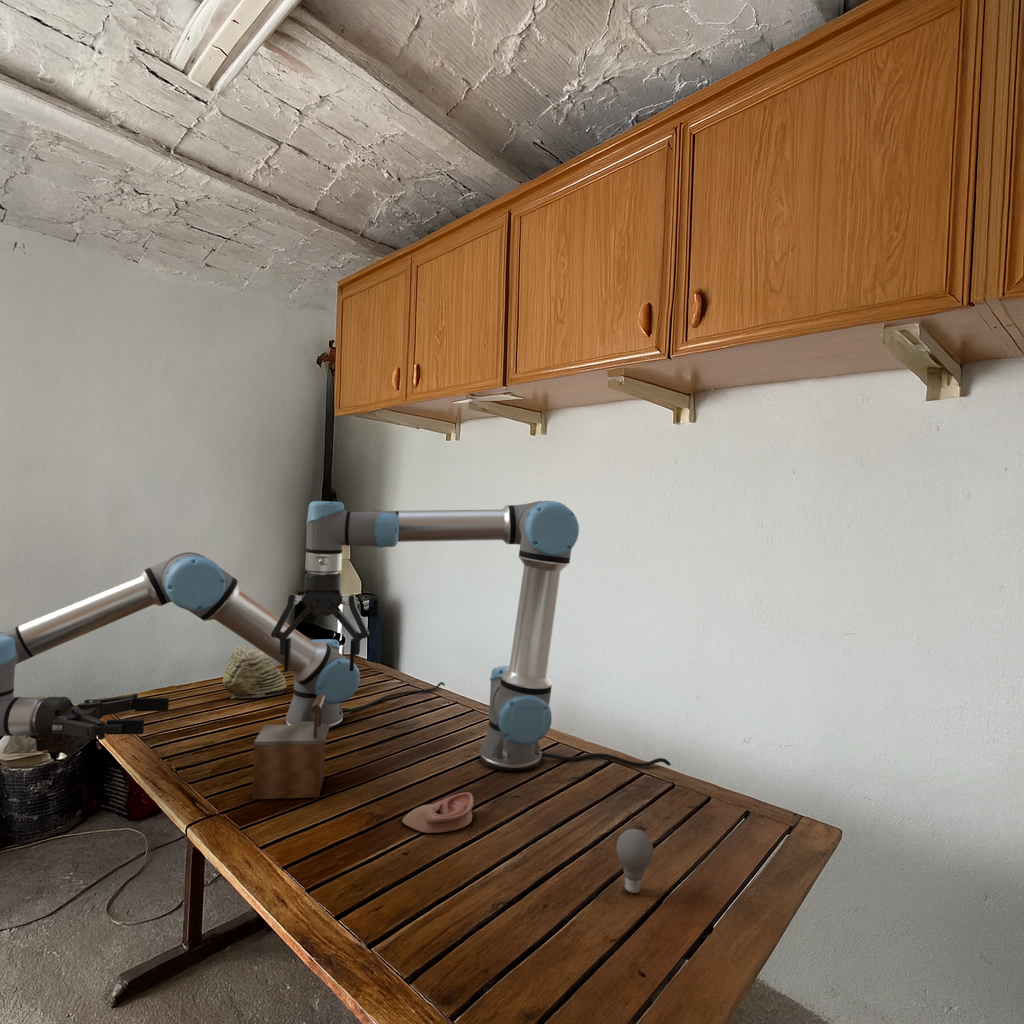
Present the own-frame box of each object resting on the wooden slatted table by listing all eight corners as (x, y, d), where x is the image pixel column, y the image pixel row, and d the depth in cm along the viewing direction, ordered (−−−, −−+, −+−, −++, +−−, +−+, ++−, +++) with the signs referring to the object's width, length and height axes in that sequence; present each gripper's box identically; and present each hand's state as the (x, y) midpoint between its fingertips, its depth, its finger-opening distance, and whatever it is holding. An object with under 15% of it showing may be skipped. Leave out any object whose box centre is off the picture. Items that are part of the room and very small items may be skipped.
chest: (324, 777, 143) (326, 727, 143) (318, 797, 134) (320, 744, 133) (262, 779, 141) (264, 728, 141) (251, 799, 131) (254, 746, 131)
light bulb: (610, 879, 108) (613, 822, 108) (644, 879, 109) (647, 822, 109) (619, 902, 102) (622, 840, 102) (655, 901, 103) (658, 840, 103)
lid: (329, 727, 143) (331, 692, 143) (324, 744, 133) (326, 706, 133) (264, 728, 141) (265, 692, 140) (254, 745, 131) (255, 707, 131)
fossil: (218, 695, 195) (220, 647, 195) (278, 685, 208) (279, 640, 207) (228, 703, 189) (230, 653, 188) (289, 692, 201) (290, 645, 201)
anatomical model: (396, 808, 122) (417, 782, 133) (395, 828, 122) (416, 801, 133) (463, 818, 119) (478, 791, 130) (462, 839, 119) (477, 810, 131)
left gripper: (73, 713, 141) (176, 712, 144) (4, 759, 116) (130, 756, 120) (74, 680, 141) (177, 680, 144) (6, 718, 116) (132, 717, 120)
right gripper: (258, 573, 131) (255, 674, 132) (381, 575, 136) (377, 674, 136) (266, 568, 139) (262, 665, 139) (382, 571, 143) (378, 664, 143)
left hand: (156, 714), depth 132 cm, fingers open, 13 cm apart
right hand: (319, 669), depth 138 cm, fingers open, 13 cm apart
